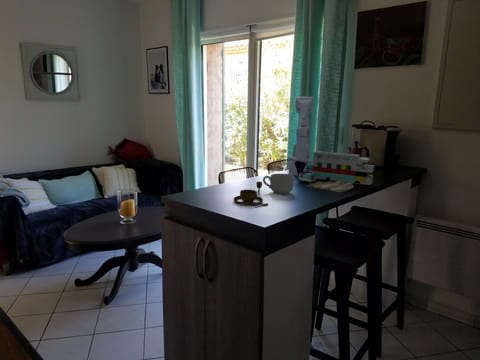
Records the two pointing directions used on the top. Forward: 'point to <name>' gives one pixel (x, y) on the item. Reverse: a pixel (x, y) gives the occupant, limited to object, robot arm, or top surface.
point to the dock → (333, 186)
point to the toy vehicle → (342, 168)
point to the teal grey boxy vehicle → (307, 177)
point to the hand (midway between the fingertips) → (299, 175)
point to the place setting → (250, 197)
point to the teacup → (280, 183)
